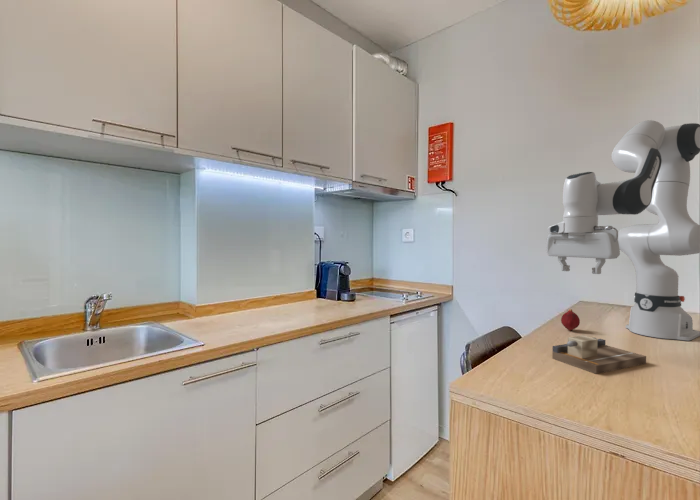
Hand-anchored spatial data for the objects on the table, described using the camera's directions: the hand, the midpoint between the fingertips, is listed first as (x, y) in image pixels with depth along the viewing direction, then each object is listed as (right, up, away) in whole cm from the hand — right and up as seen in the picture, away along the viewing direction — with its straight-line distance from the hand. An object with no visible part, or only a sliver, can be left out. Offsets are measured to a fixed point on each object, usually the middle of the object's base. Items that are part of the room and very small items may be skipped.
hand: (580, 272), depth 104 cm
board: (-1, -24, -9) cm, 26 cm away
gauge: (-6, -22, -10) cm, 25 cm away
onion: (+11, -23, +22) cm, 34 cm away
